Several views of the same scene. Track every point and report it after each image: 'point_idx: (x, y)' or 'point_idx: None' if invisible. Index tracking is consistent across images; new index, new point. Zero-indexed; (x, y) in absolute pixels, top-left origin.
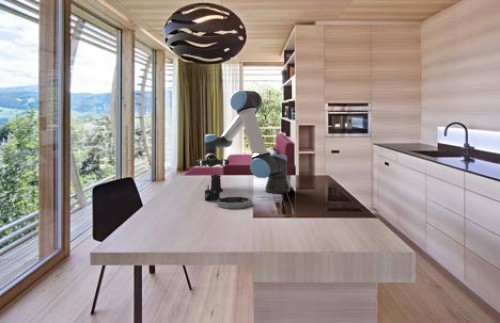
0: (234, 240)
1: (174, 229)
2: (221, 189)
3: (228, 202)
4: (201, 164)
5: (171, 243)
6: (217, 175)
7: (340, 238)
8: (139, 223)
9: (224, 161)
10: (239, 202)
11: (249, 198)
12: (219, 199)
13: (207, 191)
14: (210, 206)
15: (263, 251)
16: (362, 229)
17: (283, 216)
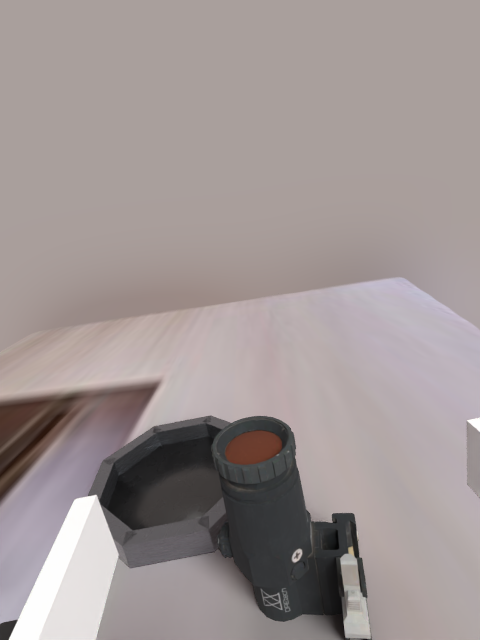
0: (222, 316)
1: (331, 320)
2: (228, 524)
3: (205, 499)
4: (467, 451)
5: (311, 299)
6: (238, 465)
7: (72, 341)
8: (433, 323)
9: (58, 546)
10: (149, 503)
11: None
12: None
13: (333, 517)
14: None
15: (191, 308)
16: (3, 366)
17: (81, 396)
